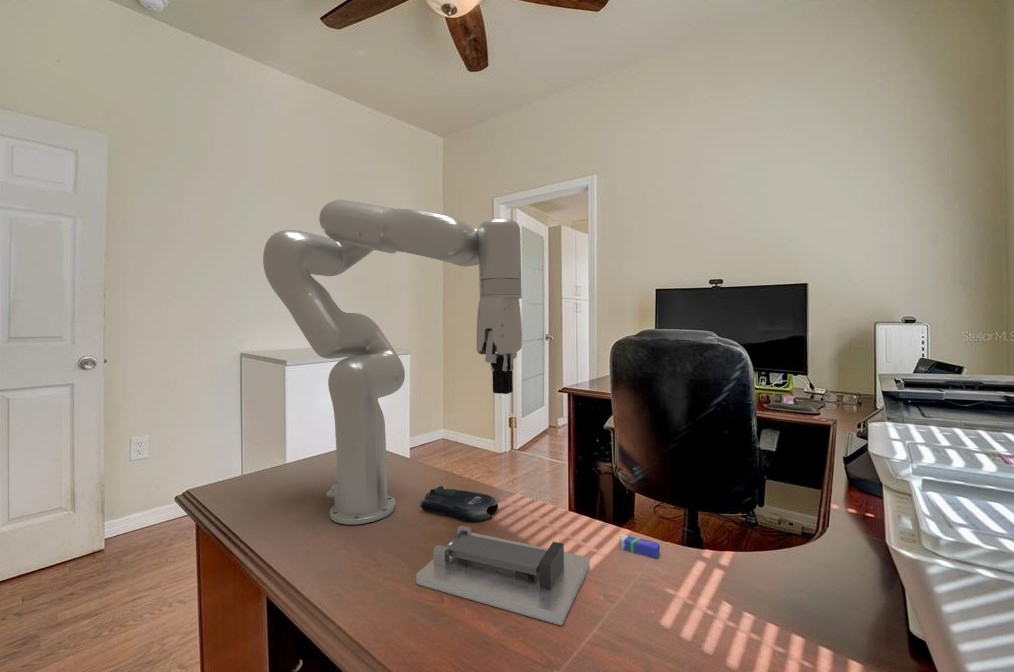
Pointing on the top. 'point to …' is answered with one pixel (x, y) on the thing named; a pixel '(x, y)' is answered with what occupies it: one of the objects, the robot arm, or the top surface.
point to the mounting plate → (510, 581)
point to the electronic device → (459, 503)
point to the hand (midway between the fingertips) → (502, 392)
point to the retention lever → (496, 553)
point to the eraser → (640, 546)
